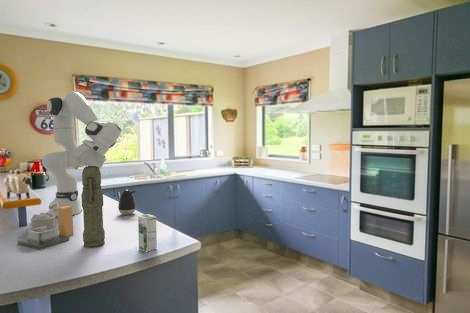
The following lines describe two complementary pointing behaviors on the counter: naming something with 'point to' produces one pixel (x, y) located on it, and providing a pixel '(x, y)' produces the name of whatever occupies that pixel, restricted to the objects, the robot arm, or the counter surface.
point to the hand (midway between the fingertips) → (79, 171)
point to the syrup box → (147, 232)
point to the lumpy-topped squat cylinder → (44, 221)
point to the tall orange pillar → (65, 221)
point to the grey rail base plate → (42, 238)
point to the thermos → (92, 207)
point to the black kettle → (127, 202)
